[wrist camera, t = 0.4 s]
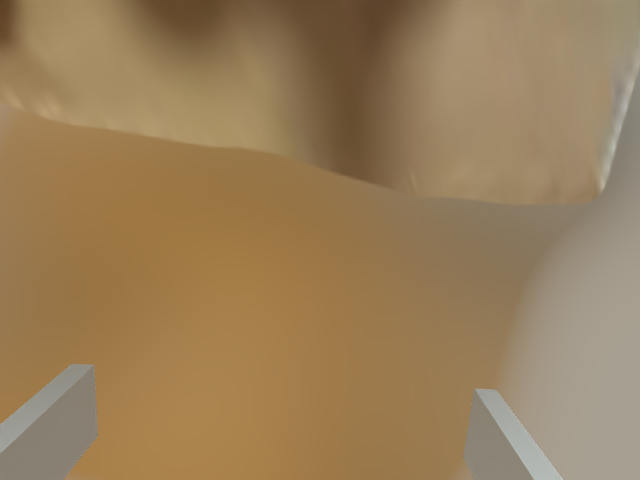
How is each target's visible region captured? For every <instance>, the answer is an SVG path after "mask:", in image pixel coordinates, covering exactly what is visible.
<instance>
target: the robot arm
mask: <svg viewBox="0 0 640 480" xmlns="http://www.w3.org/2000/svg"><path fill="white" fill-rule="evenodd" d="M97 436H98V431H97V411H96V390H95V371H94V365H83V364H71V365H70V366H69V367H67V368H66V369H65V370H64V371H63V372H62V373H60V374H59V375H58V376H57V377H56V378H54V379H53V380H52V381H51V382H50V383H48V385H46V386H45V387H44V388H43V389H41V390H40V391H39V392H38V393H37V394H36V395H34V396H33V397H32V398H31V399H30V400H28V401H27V402H26V403H25V404H24V405H23V406H22V407H20V408H19V409H18V410H17V411H16V412H14V413H13V414H12V415H11V416H10V417H8V418H7V419H6V420H5V421H4V422H3V423H1V424H0V480H63V479H64V478H65V477H66V476H67V474H68V473H69V472H70V470H71V469H72V468H73V467H74V465H75V464H76V463H77V462H78V460H79V459H80V458H81V456H82V455H83V454H84V453H85V451H86V450H87V449H88V448H89V446H90V445H91V444H92V442H93V441H94V440H95V439H96V437H97ZM463 458H464V460H465V462H466V464H467V466H468V469H469V471H470V473H471V475H472V477H473V479H474V480H563V479H562V478H561V476H560V475H559V474H558V472H557V471H556V470H555V468H554V467H553V466H552V464H551V463H550V462H549V460H548V459H547V458H546V456H545V455H544V453H543V452H542V451H541V449H540V448H539V447H538V446H537V444H536V443H535V441H534V440H533V439H532V438H531V436H530V435H529V433H528V432H527V431H526V429H525V428H524V427H523V425H522V424H521V423H520V421H519V420H518V419H517V417H516V416H515V414H514V413H513V412H512V411H511V409H510V408H509V407H508V405H507V404H506V403H505V401H504V400H503V398H502V397H501V396H500V394H499V393H498V392H497V390H489V389H474V394H473V401H472V407H471V412H470V419H469V425H468V431H467V438H466V443H465V449H464V456H463Z"/></svg>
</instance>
